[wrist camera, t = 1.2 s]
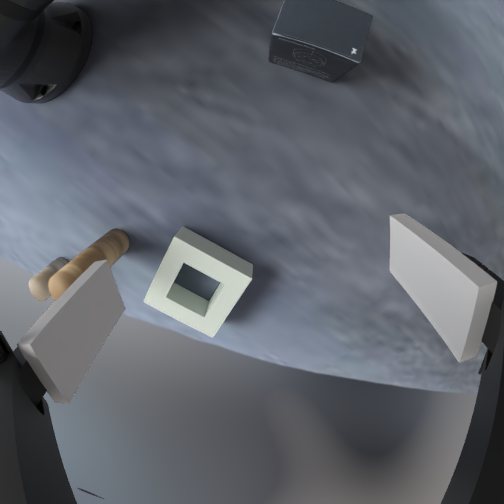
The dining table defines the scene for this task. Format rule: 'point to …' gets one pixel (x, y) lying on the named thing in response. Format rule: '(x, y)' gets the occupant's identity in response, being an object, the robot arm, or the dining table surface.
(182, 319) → the hole block
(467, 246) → the dining table surface
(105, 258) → the long pin
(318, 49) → the box
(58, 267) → the short pin
